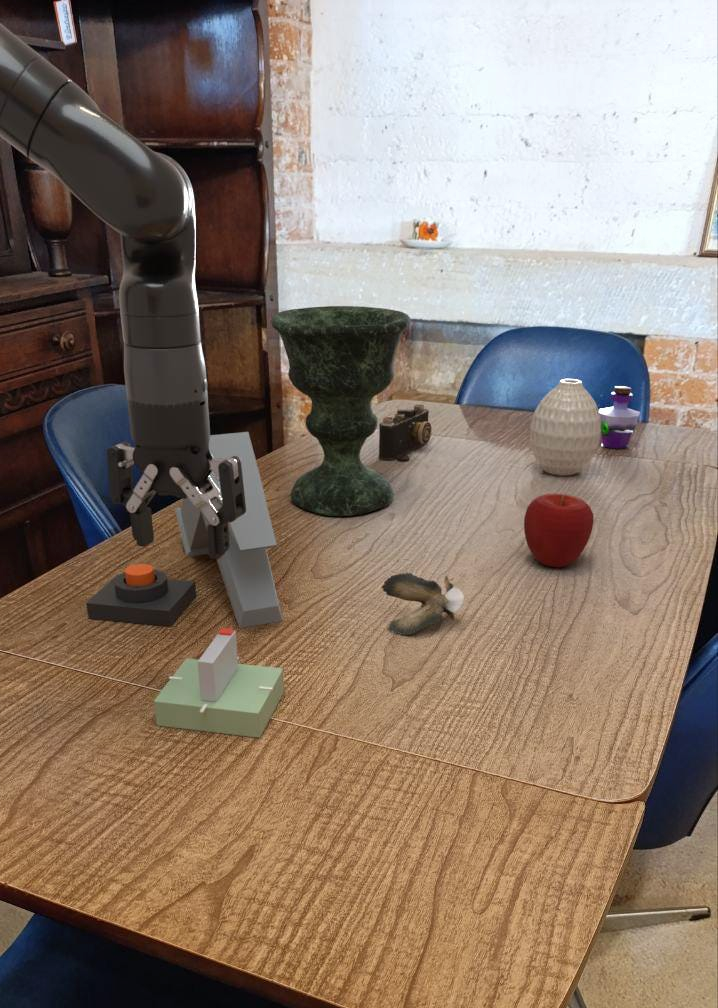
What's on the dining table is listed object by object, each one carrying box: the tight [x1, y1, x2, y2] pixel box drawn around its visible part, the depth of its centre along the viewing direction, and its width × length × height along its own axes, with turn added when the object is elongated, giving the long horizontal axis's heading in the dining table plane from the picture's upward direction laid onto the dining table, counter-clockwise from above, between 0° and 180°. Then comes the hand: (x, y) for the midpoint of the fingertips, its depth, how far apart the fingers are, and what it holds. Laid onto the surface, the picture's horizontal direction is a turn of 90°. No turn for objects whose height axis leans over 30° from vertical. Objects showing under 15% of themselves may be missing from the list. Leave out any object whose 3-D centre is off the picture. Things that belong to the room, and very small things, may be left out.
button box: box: [85, 569, 197, 627], centre depth 112 cm, size 11×9×4 cm
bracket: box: [174, 431, 283, 629], centre depth 117 cm, size 8×27×25 cm
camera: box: [378, 404, 433, 462], centre depth 175 cm, size 16×7×8 cm, turn 148°
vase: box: [529, 378, 602, 477], centre depth 162 cm, size 13×13×17 cm
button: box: [124, 563, 155, 586], centre depth 111 cm, size 4×4×2 cm
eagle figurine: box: [381, 572, 465, 636], centre depth 108 cm, size 8×7×9 cm
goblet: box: [270, 305, 412, 517], centre depth 144 cm, size 22×23×30 cm
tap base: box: [153, 656, 285, 739], centre depth 91 cm, size 11×11×3 cm
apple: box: [523, 493, 595, 568], centre depth 125 cm, size 10×10×10 cm
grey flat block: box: [198, 627, 239, 702], centre depth 90 cm, size 7×2×5 cm, turn 168°
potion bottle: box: [598, 385, 641, 451], centre depth 178 cm, size 9×9×12 cm
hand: (181, 550), depth 91 cm, fingers open, 8 cm apart
